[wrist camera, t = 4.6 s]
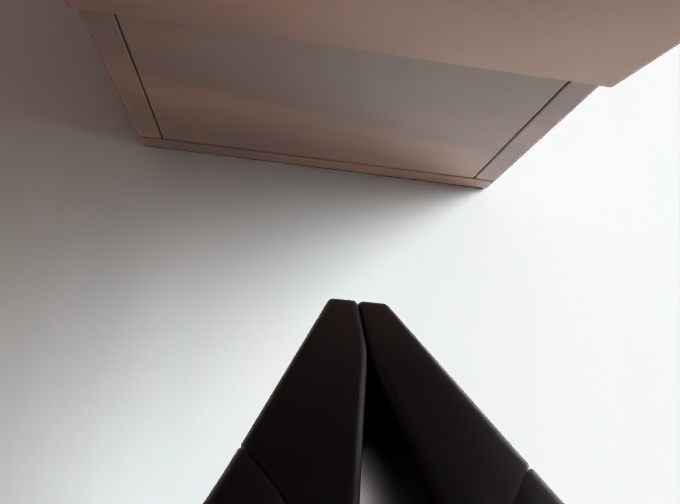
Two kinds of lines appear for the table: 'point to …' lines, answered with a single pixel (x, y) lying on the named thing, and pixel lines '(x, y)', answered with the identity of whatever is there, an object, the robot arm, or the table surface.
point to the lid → (450, 29)
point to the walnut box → (324, 102)
